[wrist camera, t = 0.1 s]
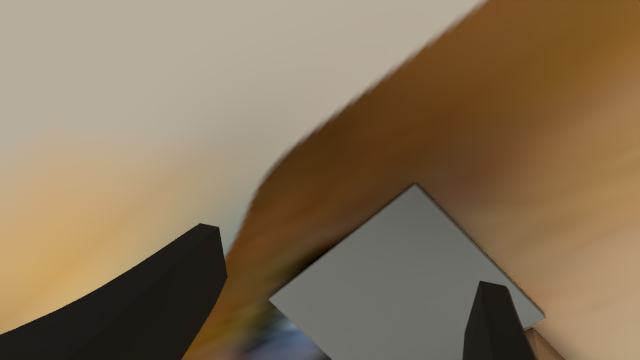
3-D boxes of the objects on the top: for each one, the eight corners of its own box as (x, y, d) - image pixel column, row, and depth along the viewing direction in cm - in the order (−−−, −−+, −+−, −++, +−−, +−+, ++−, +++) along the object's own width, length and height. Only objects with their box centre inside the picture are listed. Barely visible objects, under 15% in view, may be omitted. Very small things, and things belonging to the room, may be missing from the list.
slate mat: (377, 397, 28) (376, 401, 28) (270, 296, 27) (268, 299, 27) (544, 314, 23) (545, 318, 22) (415, 182, 22) (414, 185, 21)
